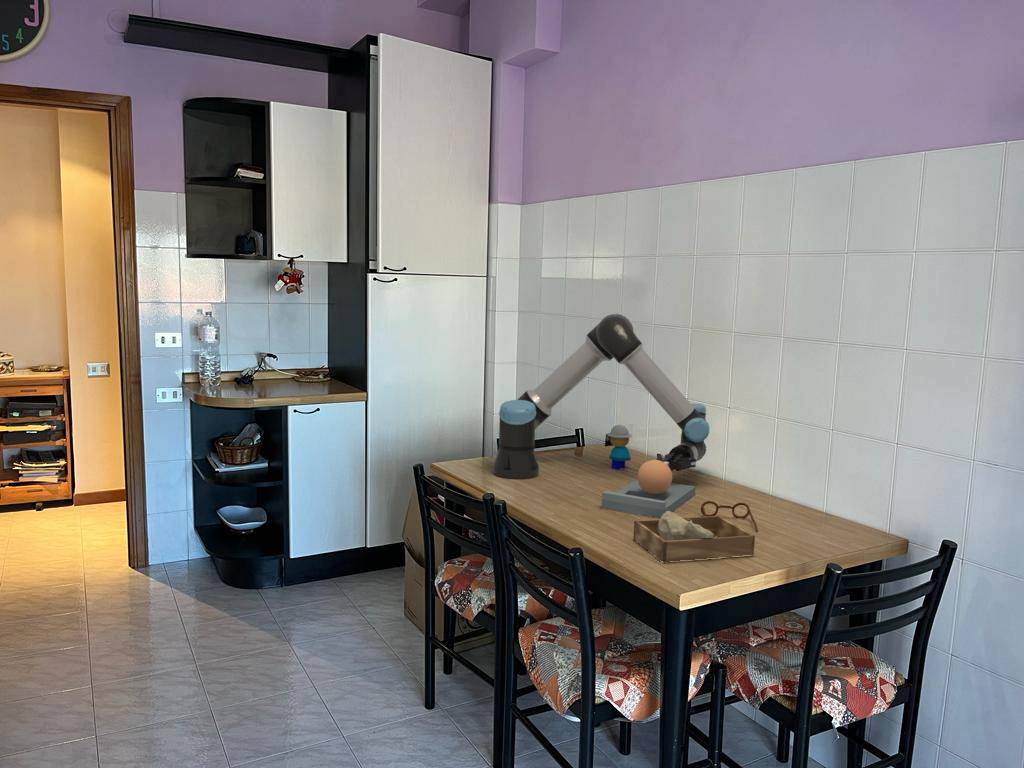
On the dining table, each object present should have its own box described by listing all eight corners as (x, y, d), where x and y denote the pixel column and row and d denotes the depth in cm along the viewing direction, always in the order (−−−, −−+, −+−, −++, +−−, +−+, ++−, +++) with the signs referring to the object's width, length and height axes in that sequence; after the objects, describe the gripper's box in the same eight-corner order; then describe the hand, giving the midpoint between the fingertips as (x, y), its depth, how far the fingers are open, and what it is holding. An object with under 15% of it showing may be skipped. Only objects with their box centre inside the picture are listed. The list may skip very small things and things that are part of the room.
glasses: (748, 519, 218) (749, 502, 218) (758, 534, 206) (760, 516, 205) (699, 517, 219) (701, 499, 219) (707, 532, 207) (708, 513, 206)
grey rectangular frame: (638, 485, 250) (639, 471, 249) (695, 494, 241) (695, 480, 241) (601, 508, 224) (602, 492, 223) (663, 519, 215) (663, 502, 215)
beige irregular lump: (655, 546, 201) (642, 523, 189) (671, 522, 203) (659, 498, 191) (708, 577, 192) (697, 555, 180) (724, 553, 194) (715, 529, 182)
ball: (634, 464, 237) (627, 477, 228) (662, 448, 233) (655, 461, 224) (654, 492, 237) (647, 505, 228) (681, 476, 233) (675, 490, 224)
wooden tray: (633, 540, 197) (634, 520, 196) (717, 534, 203) (718, 515, 203) (663, 563, 181) (664, 542, 181) (753, 556, 188) (754, 536, 187)
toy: (612, 463, 279) (614, 421, 277) (634, 467, 273) (637, 425, 272) (600, 468, 272) (602, 424, 270) (623, 472, 267) (625, 428, 265)
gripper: (702, 470, 253) (680, 486, 233) (662, 464, 259) (637, 479, 239) (703, 447, 252) (681, 461, 232) (664, 442, 258) (639, 455, 238)
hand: (659, 470), depth 235 cm, fingers closed
